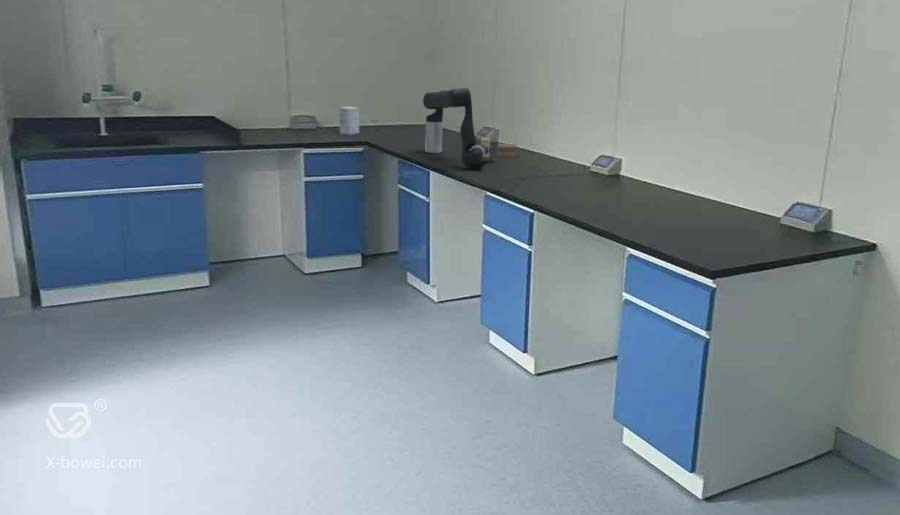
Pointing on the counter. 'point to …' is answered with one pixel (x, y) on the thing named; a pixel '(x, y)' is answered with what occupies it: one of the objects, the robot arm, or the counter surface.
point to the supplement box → (349, 120)
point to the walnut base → (506, 150)
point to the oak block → (486, 144)
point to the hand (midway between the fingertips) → (483, 147)
